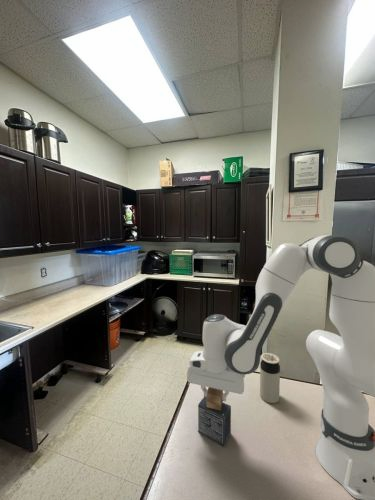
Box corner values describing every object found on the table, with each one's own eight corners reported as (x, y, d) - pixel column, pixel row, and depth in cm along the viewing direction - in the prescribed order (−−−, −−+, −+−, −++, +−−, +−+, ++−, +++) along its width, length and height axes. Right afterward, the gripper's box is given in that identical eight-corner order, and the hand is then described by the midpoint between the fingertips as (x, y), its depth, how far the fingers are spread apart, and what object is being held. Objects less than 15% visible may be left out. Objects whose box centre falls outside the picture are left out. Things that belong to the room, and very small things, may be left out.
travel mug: (269, 406, 87) (270, 365, 86) (256, 393, 94) (256, 355, 93) (283, 400, 90) (284, 360, 89) (269, 388, 98) (269, 350, 96)
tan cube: (222, 399, 77) (223, 386, 76) (220, 410, 72) (220, 396, 71) (209, 396, 78) (209, 384, 78) (206, 407, 73) (206, 393, 73)
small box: (231, 432, 76) (232, 405, 75) (224, 448, 70) (225, 418, 69) (205, 419, 81) (205, 393, 81) (197, 432, 76) (197, 404, 75)
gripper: (245, 360, 74) (245, 398, 75) (190, 351, 80) (190, 385, 81) (244, 371, 68) (244, 412, 69) (185, 360, 74) (185, 397, 75)
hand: (214, 397), depth 75 cm, fingers closed on tan cube, 5 cm apart
